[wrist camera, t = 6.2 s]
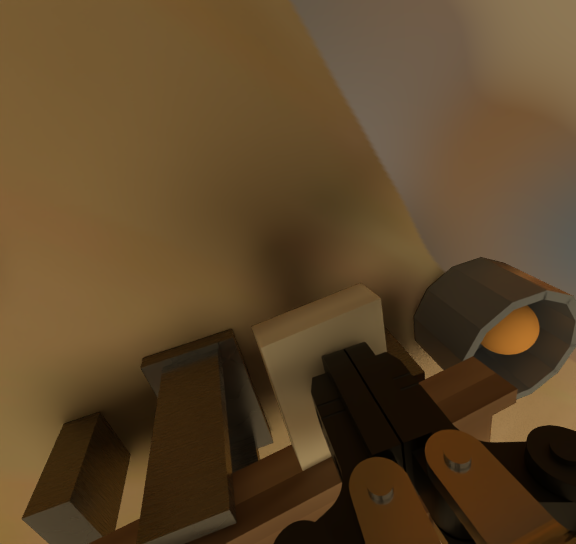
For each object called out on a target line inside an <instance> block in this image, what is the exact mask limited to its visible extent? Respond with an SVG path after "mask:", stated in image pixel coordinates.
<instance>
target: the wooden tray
mask: <svg viewBox="0 0 576 544" xmlns="http://www.w3.org/2000/svg"><path fill="white" fill-rule="evenodd" d="M251 328H252V331H253V333H254V336H255V339H256V342H257V345H258V348H259V351H260V354H261V357H262V360H263V363H264V365H265V368H266V371H267V374H268V377H269V380H270V383H271V386H272V389H273V392H274V394H275V397H276V400H277V403H278V406H279V409H280V412H281V415H282V418H283V421H284V424H285V426H286V429H287V432H288V435H289V438H290V441H291V444H292V445H290V446H288V447H286V448H284V449H282V450H280V451H277V452H275V453H273V454H271V455H269V456H267V457H265V458H263V459H261V460H259V461H257V462H255V463H253V464H251V465H249V466H247V467H245V468H243V469H241V470H238V471H236V472H234V473H232V476H233V487H234V498H235V509H236V520H237V523H236V524H233V525H230V526H228V527H225V528H223V529H220V530H218V531H215V532H213V533H210V534H208V535H205V536H203V537H200V538H198V539H195V540H193V541H190V542H188V543H185V544H274V542H275V539H276V538H277V536H278V535H279V533H280V532H281V531H282V530H283V529H284V528H285V527H287V526H288V525H290V524H291V523H293V522H296V521H300V520H310V521H313V522H316V521H317V520H318V519H319V518H320V517H321V516H322V515H323V514H324V513H325V512H326V511H328V510H329V509H330V508H331V507H332V505H333V504H334V503H335V501H336V500H337V498H338V496H339V494H340V491H341V487H342V482H341V480H340V477H339V474H338V472H337V469H336V466H335V464H334V461H333V458H332V456H331V453H330V451H329V448H328V445H327V443H326V440H325V437H324V435H323V432H322V430H321V427H320V424H319V421H318V417H317V413H316V410H315V406H314V402H313V398H312V395H311V385H312V377H315V376H318V375H321V374H324V373H325V371H324V366H323V362H322V358H321V357H322V356H324V355H327V354H330V353H333V352H336V351H339V350H342V349H344V348H347V347H350V346H353V345H356V344H359V343H362V342H366V343H367V344H368V346H369V347H370V348H371V350H372V351H373V352H374V354H375V355H378V354H381V353H384V352H387V348H386V339H385V331H384V322H383V313H382V304H381V298H380V297H379V296H377V295H376V294H375V293H373V292H372V291H371V290H370V289H368V288H367V287H366V286H364V285H363V284H362V283H359V284H356V285H354V286H351V287H349V288H346V289H344V290H341V291H339V292H336V293H334V294H331V295H329V296H326V297H324V298H321V299H319V300H316V301H314V302H311V303H309V304H306V305H304V306H301V307H299V308H296V309H294V310H291V311H289V312H286V313H284V314H281V315H279V316H276V317H274V318H271V319H269V320H266V321H264V322H261V323H259V324H256V325H254V326H251ZM419 385H421V386H422V387H423V388H424V390H425V391H426V392H427V393H428V394H429V396H430V397H431V398H432V399H433V401H434V402H435V403H436V404H437V405H438V407H439V408H440V409H441V410H442V412H443V413H444V414H445V415H446V416H447V418H448V419H449V420H450V421H451V423H452V424H453V425H454V426H455V427H456V428H457V429H459V430H460V431H462V432H465V433H467V434H469V435H471V436H473V437H474V438H476V439H477V440H480V441H484V442H490V435H491V424H492V415H494V414H496V413H498V412H500V411H501V410H503V409H505V408H507V407H509V406H511V405H512V404H514V403H516V398H517V390H518V389H517V388H516V387H514V386H513V385H512V384H510V383H509V382H508V381H506V380H505V379H503V378H502V377H501V376H499V375H498V374H497V373H495V372H494V371H493V370H491V369H490V368H488V367H487V366H486V365H484V364H483V363H482V362H480V361H479V360H478V359H476V358H475V357H473V356H472V357H470V358H468V359H466V360H464V361H462V362H460V363H458V364H456V365H454V366H452V367H450V368H448V369H446V370H444V371H442V372H439V373H437V374H435V375H433V376H431V377H429V378H427V379H425V380H423V381H421V382H419ZM418 497H419V499H420V501H421V503H422V505H423V507H424V509H425V511H426V513H427V515H428V509H427V508H426V506H425V504H424V502H423V501H422V499H421V497H420V495H419V496H418ZM428 517H429V515H428ZM139 521H140V519H138V520H136V521H134V522H132V523H130V524H128V525H126V526H124V527H122V528H120V529H117V530H115V531H113V532H111V533H109V534H107V535H105V536H103V537H101V538H99V539H97V540H95V541H93V542H91V543H89V544H136V542H137V535H138V528H139Z"/></svg>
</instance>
